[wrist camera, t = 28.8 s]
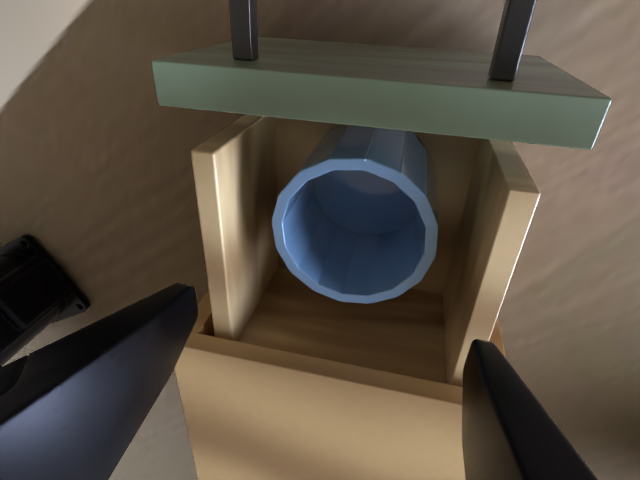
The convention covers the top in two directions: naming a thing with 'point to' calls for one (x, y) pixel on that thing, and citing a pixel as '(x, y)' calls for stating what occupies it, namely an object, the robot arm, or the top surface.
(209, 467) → the cabinet
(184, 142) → the top surface
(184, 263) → the top surface
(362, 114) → the drawer
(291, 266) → the cup
